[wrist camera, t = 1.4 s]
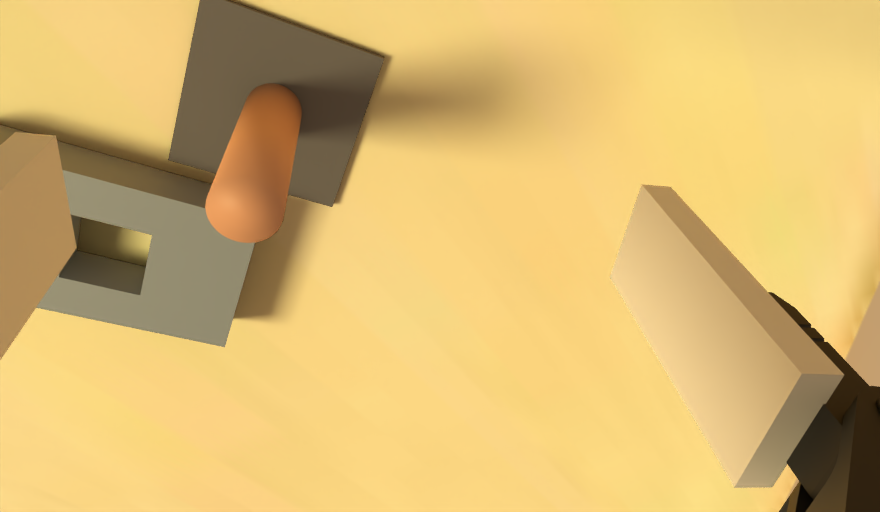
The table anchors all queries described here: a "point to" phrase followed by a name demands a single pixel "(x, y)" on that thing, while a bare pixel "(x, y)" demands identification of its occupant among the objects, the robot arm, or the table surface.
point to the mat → (280, 62)
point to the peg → (256, 167)
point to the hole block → (170, 255)
